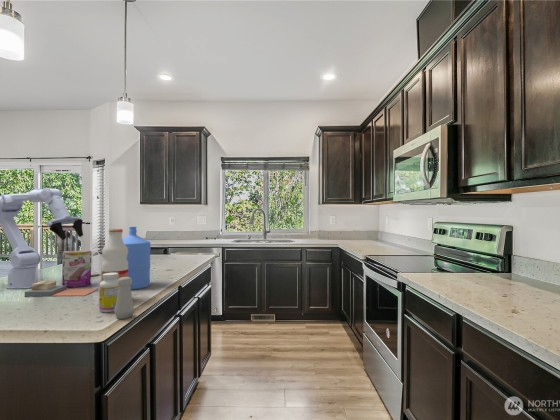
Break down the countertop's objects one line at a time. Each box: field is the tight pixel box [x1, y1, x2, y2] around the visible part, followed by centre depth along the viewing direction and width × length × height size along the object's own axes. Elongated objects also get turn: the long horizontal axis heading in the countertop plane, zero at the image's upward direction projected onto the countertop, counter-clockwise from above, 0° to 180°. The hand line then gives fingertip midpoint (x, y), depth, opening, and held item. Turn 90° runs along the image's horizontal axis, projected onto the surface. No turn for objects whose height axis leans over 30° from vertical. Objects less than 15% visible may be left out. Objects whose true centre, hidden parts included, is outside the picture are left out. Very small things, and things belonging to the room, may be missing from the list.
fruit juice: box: [100, 228, 128, 283], centre depth 122 cm, size 9×9×28 cm
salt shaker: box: [114, 277, 135, 320], centre depth 102 cm, size 6×6×13 cm
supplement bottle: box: [98, 273, 120, 313], centre depth 110 cm, size 7×7×13 cm
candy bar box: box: [61, 250, 93, 289], centre depth 145 cm, size 11×5×16 cm, turn 130°
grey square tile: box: [24, 284, 68, 298], centre depth 132 cm, size 10×11×2 cm
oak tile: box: [31, 280, 57, 290], centre depth 132 cm, size 6×6×2 cm
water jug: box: [122, 226, 151, 291], centre depth 145 cm, size 16×16×28 cm
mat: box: [51, 288, 99, 297], centre depth 133 cm, size 13×11×1 cm
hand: (73, 237), depth 138 cm, fingers open, 7 cm apart
